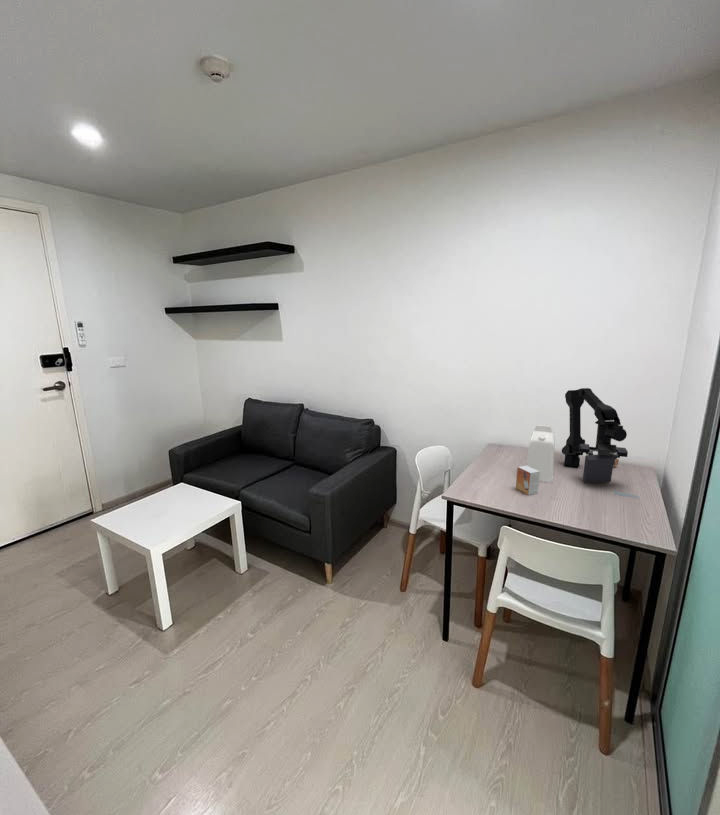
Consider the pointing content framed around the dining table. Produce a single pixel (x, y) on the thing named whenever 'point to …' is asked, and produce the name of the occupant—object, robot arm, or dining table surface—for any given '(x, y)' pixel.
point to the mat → (624, 494)
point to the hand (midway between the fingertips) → (600, 467)
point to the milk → (542, 452)
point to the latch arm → (616, 462)
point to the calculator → (598, 468)
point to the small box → (527, 480)
